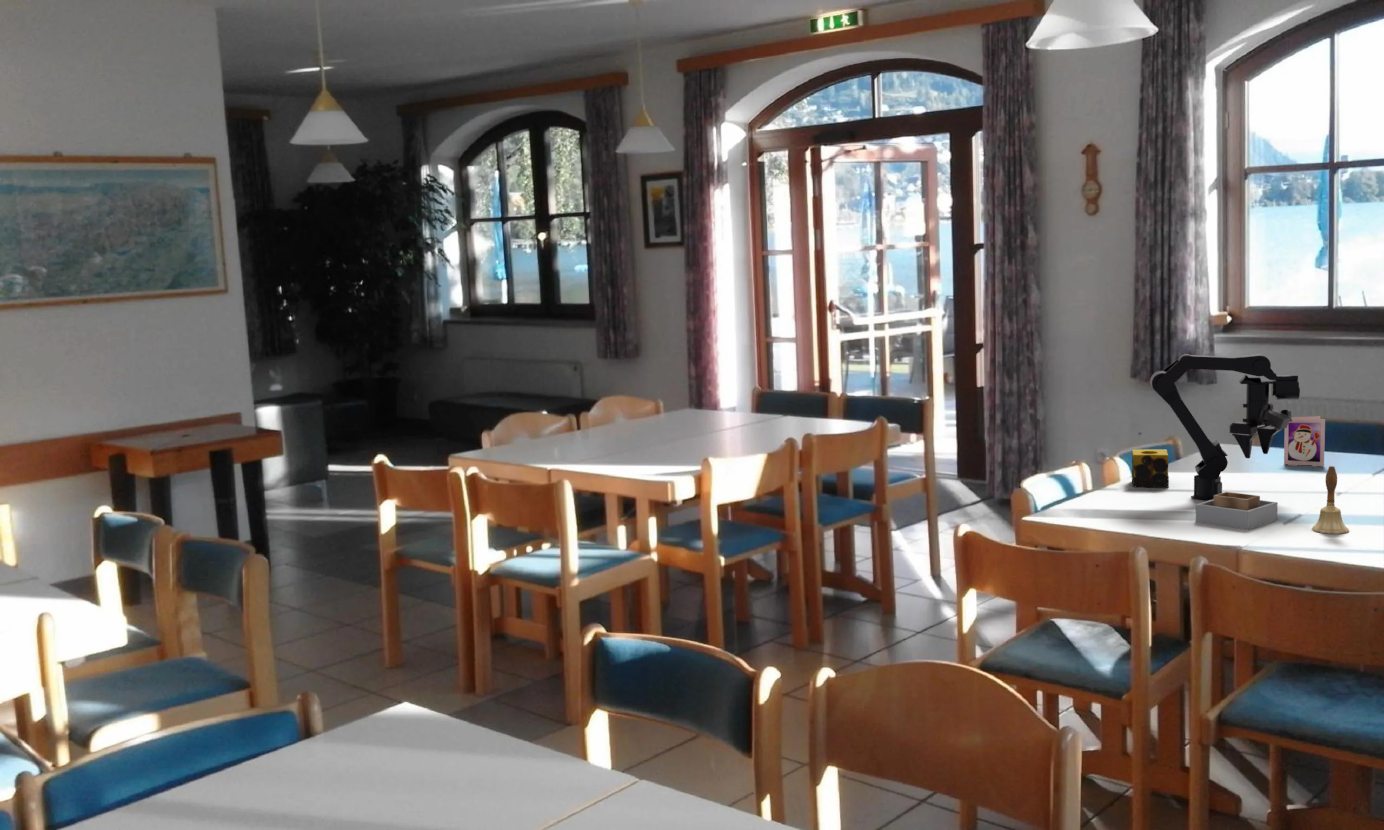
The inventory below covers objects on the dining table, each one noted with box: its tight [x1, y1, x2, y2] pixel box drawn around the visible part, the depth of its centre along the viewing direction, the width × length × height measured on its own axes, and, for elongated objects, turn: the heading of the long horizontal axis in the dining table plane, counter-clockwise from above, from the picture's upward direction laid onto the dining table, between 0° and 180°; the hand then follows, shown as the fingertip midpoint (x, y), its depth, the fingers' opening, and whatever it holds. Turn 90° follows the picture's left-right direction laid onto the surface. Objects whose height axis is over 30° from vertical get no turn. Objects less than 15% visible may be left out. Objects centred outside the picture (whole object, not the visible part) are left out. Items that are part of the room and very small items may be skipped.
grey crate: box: [1195, 499, 1278, 531], centre depth 334 cm, size 14×15×5 cm
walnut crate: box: [1213, 491, 1261, 511], centre depth 334 cm, size 9×6×6 cm
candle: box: [1131, 448, 1170, 489], centre depth 386 cm, size 10×10×10 cm
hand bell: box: [1311, 465, 1350, 535], centre depth 319 cm, size 8×8×16 cm
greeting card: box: [1283, 415, 1326, 467], centre depth 408 cm, size 11×7×15 cm, turn 58°
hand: (1256, 456), depth 359 cm, fingers open, 9 cm apart
